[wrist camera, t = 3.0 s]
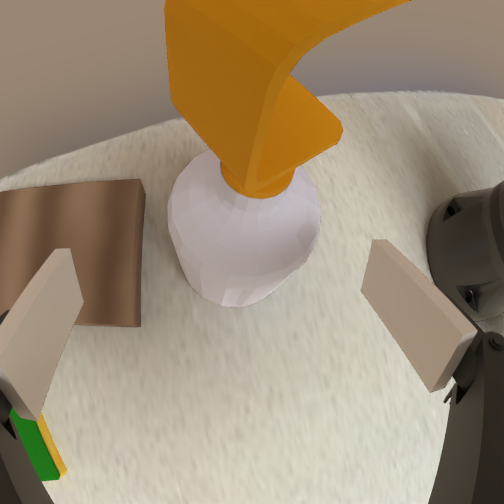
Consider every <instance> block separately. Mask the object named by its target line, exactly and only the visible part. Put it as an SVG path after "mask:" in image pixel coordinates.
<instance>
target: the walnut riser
mask: <svg viewBox="0 0 504 504" xmlns="http://www.w3.org/2000/svg"><path fill="white" fill-rule="evenodd" d="M145 197H146V194H145V192H144V189H143V186H142V184H141V181H140V179H130V180H113V181H98V182H85V183H73V184H62V185H52V186H43V187H34V188H26V189H18V190H10V191H3V192H0V316H1V315H2V314H3V313H4V312H5V311H6V310H11V308H12V307H13V305H14V304H15V302H16V301H17V299H18V298H19V296H20V295H21V294H22V292H23V291H24V289H25V288H26V287H27V285H28V284H29V282H30V281H31V280H32V278H33V277H34V276H35V274H36V273H37V272H38V270H39V269H40V268H41V266H42V265H43V264H44V262H45V261H46V260H47V259H48V257H49V256H50V255H51V253H52V252H53V251H54V250H55V249H63V248H70V250H71V254H72V259H73V263H74V267H75V271H76V275H77V279H78V283H79V286H80V290H81V294H82V297H83V301H84V303H83V305H82V307H81V310H80V312H79V314H78V316H77V318H76V321H75V323H74V325H88V326H115V327H141V260H142V239H143V222H144V209H145Z"/></svg>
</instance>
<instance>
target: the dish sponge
mask: <svg viewBox="0 0 504 504" xmlns="http://www.w3.org/2000/svg"><path fill="white" fill-rule="evenodd" d="M10 416H11V418H12V419H13V421H14V423H15V426H16V428H17V431H18V433H19V436H20V438H21V440H22V443H23V445H24V447H25V449H26V452H27V454H28V456H29V458H30V460H31V462H32V464H33V466H34V468H35V470H36V472H37V474H38V476H39V478H40V480H41V481H50V480H58V479H60V478H61V477H62V476H63V475H64V474H66V472H67V469H66V467H65V465H64V463H63V461H62V459H61V457H60V455H59V452H58V450H57V448H56V446H55V444H54V442H53V439H52V437H51V435H50V432H49V430H48V428H47V425H46V423H45V420H44V418H43V415H42V413H41V414H40V417H39V420H38V421H33V420H28V419H24V418H20V417H19V415H18V414H17V413H16V411H15V410H14V409H13V407H12V409H11V412H10Z"/></svg>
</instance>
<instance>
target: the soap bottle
mask: <svg viewBox="0 0 504 504" xmlns="http://www.w3.org/2000/svg"><path fill="white" fill-rule="evenodd" d="M408 1H411V0H166V2H165V8H164V11H165V13H164V14H165V31H166V45H167V59H168V69H169V70H168V71H169V82H170V92H171V100H172V102H173V104H174V106H175V108H176V109H177V110H178V111H179V113H180V114H181V115H182V116H183V117H184V118H185V120H186V121H187V122H188V123H189V124H190V125H191V127H192V128H193V129H194V130H195V131H196V132H197V133H198V135H199V136H200V137H201V138H202V139H203V140H204V142H205V143H206V144H207V145H208V146H209V148H210V149H208V150H206V151H204V152H202V153H201V154H199V155H197V156H195V157H194V158H193V160H192V161H191V162H190V163H189V164H188V165H187V166H186V167H185V169H184V170H183V171H182V172H181V173H180V174H179V176H178V177H177V179H176V181H175V183H174V186H173V189H172V191H171V194H170V197H169V200H168V203H167V210H168V229H169V233H170V236H171V239H172V242H173V245H174V247H175V250H176V253H177V256H178V259H179V262H180V265H181V268H182V270H183V272H184V274H185V276H186V279H187V281H188V283H189V285H190V286H191V287H192V288H193V289H194V290H195V291H196V292H197V293H198V294H199V295H200V296H201V297H202V298H204V299H206V300H208V301H210V302H213V303H215V304H217V305H219V306H225V307H240V308H241V307H244V306H247V305H251V304H254V303H257V302H260V301H261V300H262V299H263V298H265V297H266V296H267V295H269V294H270V293H271V292H273V291H274V290H275V289H276V288H277V287H278V286H280V285H281V284H282V283H283V282H284V281H285V280H286V279H287V278H289V277H290V276H291V275H292V274H293V273H294V272H295V271H296V270H297V269H299V268H300V267H301V266H302V265H303V264H304V263H305V262H306V260H307V258H308V257H309V255H310V253H311V252H312V250H313V248H314V246H315V245H316V243H317V241H318V236H319V229H320V222H321V208H320V204H319V200H318V195H317V191H316V187H315V185H314V184H313V182H312V181H311V179H310V178H309V176H308V174H307V173H306V171H305V170H304V168H303V167H302V166H301V164H303V163H305V162H307V161H308V160H310V159H312V158H313V157H315V156H317V155H318V154H320V153H322V152H323V151H325V150H327V149H329V148H330V147H332V146H334V145H335V144H337V143H338V141H339V140H340V138H341V135H342V132H343V128H342V125H341V122H340V120H339V119H338V118H337V117H336V116H335V115H334V114H333V113H331V112H330V111H329V110H328V109H327V108H326V107H325V106H324V105H323V104H322V103H321V102H320V101H319V100H318V99H317V98H316V97H315V96H314V95H312V94H311V93H310V92H309V91H308V90H307V89H306V88H305V87H304V86H303V85H301V84H300V83H299V82H298V81H297V80H296V79H295V78H293V77H292V76H291V75H289V74H290V72H291V71H292V69H293V68H294V67H295V65H296V64H297V63H298V61H299V60H300V59H301V57H302V56H303V55H304V54H305V53H307V52H308V51H309V50H310V49H312V48H313V47H314V46H316V45H317V44H319V42H321V41H323V40H324V39H325V38H327V37H329V36H331V35H333V34H335V33H337V32H339V31H341V30H343V29H345V28H347V27H349V26H351V25H353V24H356V23H358V22H360V21H362V20H364V19H366V18H369V17H371V16H373V15H376V14H378V13H380V12H383V11H385V10H388V9H390V8H392V7H395V6H398V5H400V4H403V3H405V2H408Z"/></svg>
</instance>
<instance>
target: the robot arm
mask: <svg viewBox="0 0 504 504" xmlns="http://www.w3.org/2000/svg"><path fill="white" fill-rule="evenodd" d="M427 251H428V259H429V264H430V268H431V272H432V275H433V278H434V281H435V283H436V286H437V287H436V286H435V285H434V284H433V283H432V282H431V281H430V280H429V279H428V278H427V277H426V276H425V275H424V274H423V273H422V272H421V271H420V270H419V269H418V268H417V267H416V266H415V265H414V264H412V263H411V262H410V261H409V260H408V259H407V258H406V257H405V256H404V255H403V254H402V253H401V252H400V251H399V250H398V249H396V248H395V247H394V246H393V245H392V244H391V243H390V242H389V241H388V240H387V239H386V240H373V241H372V245H371V250H370V254H369V259H368V263H367V267H366V272H365V276H364V280H363V284H362V288H361V292H362V293H363V295H364V296H365V298H366V299H367V300H368V302H369V303H370V305H371V306H372V307H373V309H374V310H375V312H376V313H377V314H378V316H379V317H380V319H381V320H382V322H383V323H384V324H385V326H386V327H387V329H388V330H389V332H390V333H391V335H392V336H393V337H394V339H395V340H396V342H397V343H398V345H399V346H400V348H401V349H402V351H403V352H404V354H405V355H406V357H407V358H408V360H409V361H410V363H411V364H412V366H413V367H414V369H415V370H416V372H417V374H418V375H419V377H420V378H421V380H422V381H423V383H424V384H425V386H426V388H427V389H428V391H429V392H430V393H431V392H434V391H437V390H440V389H442V388H445V387H446V385H447V383H448V382H449V380H450V379H451V377H452V376H453V378H454V379H455V381H456V383H455V384H454V386H453V387H452V389H451V390H450V392H449V393H448V395H447V396H446V398H445V400H444V403H446V402H447V401H448V399H449V398H450V397H451V402H450V403H449V404H450V410H449V417H448V423H447V429H446V434H445V439H444V444H443V449H442V454H441V458H440V462H439V467H438V471H437V475H436V478H435V482H434V486H433V489H432V493H431V496H430V499H429V502H428V504H504V337H503V336H502V335H500V334H497V333H494V332H487V333H484V332H483V331H482V329H481V328H480V327H479V326H478V325H477V324H476V323H475V322H474V321H483V320H488V319H492V318H495V317H497V316H499V315H501V314H502V313H503V312H504V181H502V182H501V183H500V184H498V185H497V186H495V187H493V188H489V189H483V190H478V191H472V192H467V193H462V194H458V195H455V196H453V197H451V198H450V199H449V200H447V201H446V202H444V203H443V204H441V205H440V206H439V207H438V208H437V209H436V211H435V212H434V214H433V216H432V218H431V220H430V224H429V228H428V235H427ZM83 303H84V301H83V297H82V294H81V290H80V286H79V283H78V279H77V275H76V271H75V267H74V263H73V259H72V254H71V250H70V248H63V249H55V250H54V251H53V252H52V253H51V255H50V256H49V257H48V259H47V260H46V261H45V262H44V264H43V265H42V266H41V268H40V269H39V270H38V272H37V273H36V274H35V276H34V277H33V278H32V280H31V281H30V282H29V284H28V285H27V287H26V288H25V289H24V291H23V292H22V294H21V295H20V296H19V298H18V299H17V301H16V302H15V304H14V305H13V307H12V308H11V310H6V311H5V312H4V313H3V314H2V315H1V316H0V504H54V503H53V501H52V499H51V498H50V496H49V494H48V493H47V491H46V489H45V487H44V485H43V484H42V482H41V480H40V478H39V476H38V474H37V472H36V470H35V468H34V466H33V464H32V462H31V460H30V458H29V456H28V454H27V452H26V449H25V447H24V445H23V443H22V440H21V438H20V436H19V433H18V431H17V428H16V426H15V423H14V421H13V419H12V418H11V416H10V412H11V409H12V407H13V409H14V410H15V411H16V413H17V414H18V415H19V417H20V418H24V419H28V420H33V421H38V420H39V417H40V414H41V410H42V407H43V404H44V401H45V398H46V395H47V392H48V389H49V386H50V384H51V381H52V378H53V375H54V373H55V370H56V367H57V365H58V362H59V359H60V357H61V354H62V352H63V349H64V347H65V344H66V342H67V339H68V337H69V335H70V332H71V330H72V328H73V325H74V323H75V321H76V318H77V316H78V314H79V312H80V310H81V307H82V305H83Z"/></svg>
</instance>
